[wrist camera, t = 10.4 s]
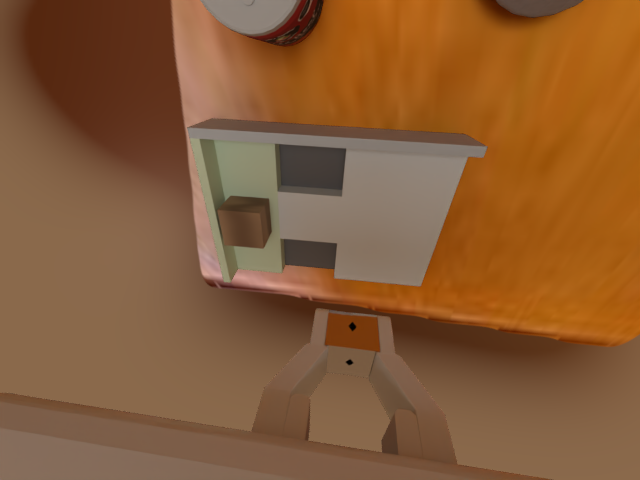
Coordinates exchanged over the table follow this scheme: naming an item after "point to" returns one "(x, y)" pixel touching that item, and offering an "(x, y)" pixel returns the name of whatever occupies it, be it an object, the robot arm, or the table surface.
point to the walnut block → (245, 221)
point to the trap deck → (333, 194)
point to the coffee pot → (537, 6)
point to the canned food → (268, 18)
